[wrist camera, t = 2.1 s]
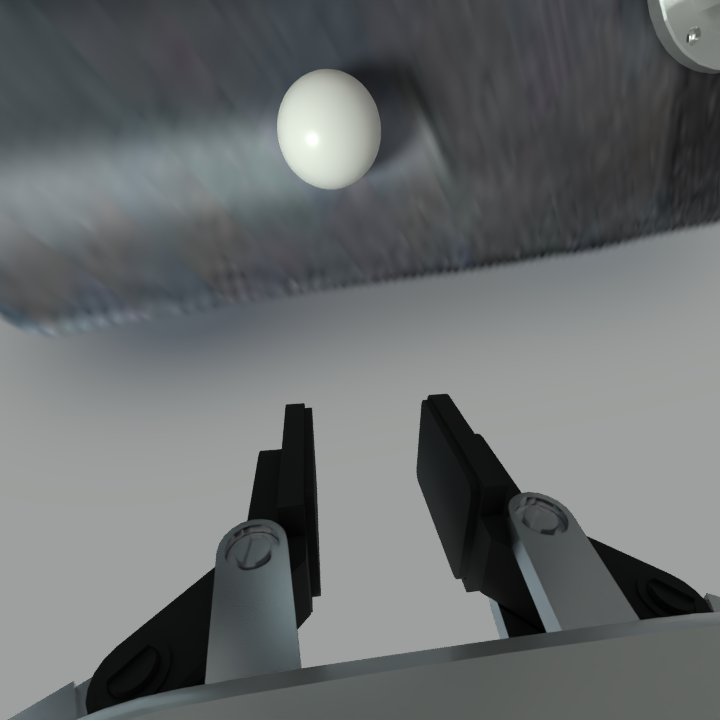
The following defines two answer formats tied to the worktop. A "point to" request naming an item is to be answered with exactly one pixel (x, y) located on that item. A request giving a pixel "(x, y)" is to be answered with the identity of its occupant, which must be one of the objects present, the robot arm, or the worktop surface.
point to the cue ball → (329, 129)
